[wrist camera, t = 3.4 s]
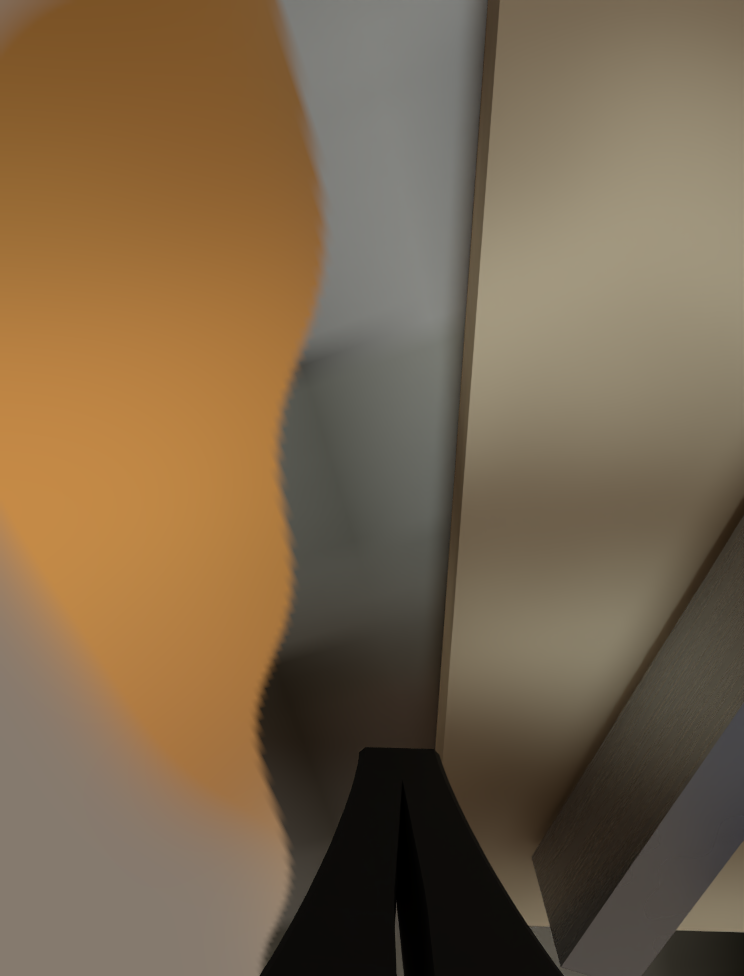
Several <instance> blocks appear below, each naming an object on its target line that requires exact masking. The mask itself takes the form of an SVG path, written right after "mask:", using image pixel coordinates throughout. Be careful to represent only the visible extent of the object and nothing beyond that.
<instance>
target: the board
mask: <svg viewBox="0 0 744 976" xmlns="http://www.w3.org/2000/svg"><path fill="white" fill-rule="evenodd" d="M743 516H744V0H488V8H487V22H486V37H485V51H484V65H483V79H482V93H481V108H480V122H479V136H478V150H477V164H476V179H475V193H474V207H473V221H472V235H471V250H470V264H469V278H468V292H467V306H466V321H465V335H464V349H463V363H462V377H461V392H460V406H459V420H458V434H457V448H456V463H455V477H454V491H453V505H452V519H451V533H450V548H449V562H448V576H447V590H446V604H445V619H444V633H443V647H442V661H441V675H440V690H439V704H438V718H437V732H436V746H435V751H436V752H437V753H438V754H439V755H440V758H441V761H442V764H443V767H444V770H445V773H446V775H447V778H448V780H449V783H450V785H451V787H452V790H453V792H454V794H455V796H456V798H457V801H458V803H459V805H460V807H461V809H462V811H463V813H464V815H465V817H466V819H467V821H468V823H469V825H470V827H471V829H472V831H473V833H474V835H475V837H476V839H477V840H478V842H479V844H480V846H481V848H482V850H483V852H484V854H485V855H486V857H487V859H488V861H489V863H490V864H491V866H492V868H493V870H494V871H495V873H496V875H497V877H498V878H499V880H500V881H501V883H502V885H503V886H504V888H505V890H506V891H507V893H508V895H509V896H510V898H511V900H512V901H513V903H514V904H515V906H516V908H517V909H518V911H519V912H520V914H521V915H522V917H523V918H524V920H525V921H526V923H527V924H528V926H549V927H550V924H549V921H548V917H547V913H546V909H545V906H544V902H543V898H542V895H541V891H540V887H539V883H538V880H537V876H536V872H535V869H534V865H533V861H532V855H533V853H534V852H535V850H536V849H537V847H538V845H539V844H540V842H541V841H542V839H543V837H544V836H545V834H546V832H547V831H548V829H549V828H550V826H551V824H552V823H553V821H554V820H555V818H556V816H557V815H558V813H559V812H560V810H561V808H562V807H563V805H564V804H565V802H566V800H567V799H568V797H569V795H570V794H571V792H572V791H573V789H574V787H575V786H576V784H577V783H578V781H579V779H580V778H581V776H582V775H583V773H584V771H585V770H586V768H587V767H588V765H589V763H590V762H591V760H592V758H593V757H594V755H595V754H596V752H597V750H598V749H599V747H600V746H601V744H602V742H603V741H604V739H605V738H606V736H607V734H608V733H609V731H610V730H611V728H612V726H613V725H614V723H615V721H616V720H617V718H618V717H619V715H620V713H621V712H622V710H623V709H624V707H625V705H626V704H627V702H628V701H629V699H630V697H631V696H632V694H633V693H634V691H635V689H636V688H637V686H638V684H639V683H640V681H641V680H642V678H643V676H644V675H645V673H646V672H647V670H648V668H649V667H650V665H651V664H652V662H653V660H654V659H655V657H656V656H657V654H658V652H659V651H660V649H661V648H662V646H663V644H664V643H665V641H666V639H667V638H668V636H669V635H670V633H671V631H672V630H673V628H674V627H675V625H676V623H677V622H678V620H679V619H680V617H681V615H682V614H683V612H684V611H685V609H686V607H687V606H688V604H689V602H690V601H691V599H692V598H693V596H694V594H695V593H696V591H697V590H698V588H699V586H700V585H701V583H702V582H703V580H704V578H705V577H706V575H707V574H708V572H709V570H710V569H711V567H712V565H713V564H714V562H715V561H716V559H717V557H718V556H719V554H720V553H721V551H722V549H723V548H724V546H725V545H726V543H727V541H728V540H729V538H730V537H731V535H732V533H733V532H734V530H735V528H736V527H737V525H738V524H739V522H740V520H741V519H742V517H743ZM676 930H686V931H720V932H744V841H743V842H742V843H741V845H740V846H739V847H738V849H737V850H736V851H735V852H734V854H733V855H732V856H731V858H730V859H729V860H728V862H727V863H726V864H725V866H724V867H723V868H722V870H721V871H720V872H719V874H718V875H717V876H716V878H715V879H714V880H713V882H712V883H711V884H710V886H709V887H708V888H707V890H706V891H705V892H704V894H703V895H702V896H701V898H700V899H699V900H698V902H697V903H696V904H695V906H694V907H693V908H692V909H691V911H690V912H689V913H688V915H687V916H686V917H685V919H684V920H683V921H682V923H681V924H680V925H679V927H678V928H677V929H676Z"/></svg>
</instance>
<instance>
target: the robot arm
mask: <svg viewBox="0 0 744 976" xmlns="http://www.w3.org/2000/svg"><path fill="white" fill-rule="evenodd" d="M396 901H397V911H398V921H399V931H400V940H401V950H402V960H403V969H404V976H564V975H563V974H562V973H561V971H560V970H559V969H558V967H557V966H556V965H555V963H554V962H553V961H552V959H551V958H550V956H549V955H548V953H547V952H546V951H545V949H544V948H543V946H542V945H541V943H540V942H539V941H538V939H537V938H536V936H535V935H534V933H533V932H532V930H531V929H530V927H529V926H528V924H527V923H526V921H525V920H524V918H523V917H522V915H521V914H520V912H519V911H518V909H517V908H516V906H515V904H514V903H513V901H512V900H511V898H510V896H509V895H508V893H507V891H506V890H505V888H504V886H503V885H502V883H501V881H500V880H499V878H498V877H497V875H496V873H495V871H494V870H493V868H492V866H491V864H490V863H489V861H488V859H487V857H486V855H485V854H484V852H483V850H482V848H481V846H480V844H479V842H478V840H477V839H476V837H475V835H474V833H473V831H472V829H471V827H470V825H469V823H468V821H467V819H466V817H465V815H464V813H463V811H462V809H461V807H460V805H459V803H458V801H457V798H456V796H455V794H454V792H453V790H452V787H451V785H450V783H449V780H448V778H447V775H446V773H445V770H444V767H443V764H442V761H441V758H440V755H439V754H438V753H437V752H436V751H435V750H434V749H408V748H373V747H366V748H364V749H363V750H362V751H361V752H359V760H358V766H357V770H356V774H355V778H354V782H353V785H352V789H351V792H350V795H349V798H348V800H347V803H346V806H345V809H344V812H343V814H342V817H341V819H340V822H339V824H338V827H337V829H336V832H335V834H334V837H333V839H332V842H331V844H330V846H329V849H328V851H327V853H326V855H325V857H324V859H323V861H322V864H321V866H320V868H319V870H318V872H317V874H316V876H315V878H314V880H313V882H312V884H311V886H310V888H309V891H308V893H307V895H306V896H305V898H304V900H303V902H302V904H301V906H300V908H299V910H298V912H297V913H296V915H295V917H294V919H293V921H292V922H291V924H290V926H289V928H288V930H287V931H286V933H285V935H284V936H283V938H282V940H281V942H280V943H279V945H278V947H277V949H276V950H275V952H274V954H273V955H272V957H271V958H270V960H269V962H268V963H267V965H266V966H265V968H264V969H263V971H262V973H261V974H260V976H397V974H396V949H395V914H396Z"/></svg>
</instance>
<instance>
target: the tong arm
mask: <svg viewBox="0 0 744 976" xmlns="http://www.w3.org/2000/svg"><path fill="white" fill-rule="evenodd" d="M743 841H744V516H743V517H742V519H741V520H740V522H739V524H738V525H737V527H736V528H735V530H734V532H733V533H732V535H731V537H730V538H729V540H728V541H727V543H726V545H725V546H724V548H723V549H722V551H721V553H720V554H719V556H718V557H717V559H716V561H715V562H714V564H713V565H712V567H711V569H710V570H709V572H708V574H707V575H706V577H705V578H704V580H703V582H702V583H701V585H700V586H699V588H698V590H697V591H696V593H695V594H694V596H693V598H692V599H691V601H690V602H689V604H688V606H687V607H686V609H685V611H684V612H683V614H682V615H681V617H680V619H679V620H678V622H677V623H676V625H675V627H674V628H673V630H672V631H671V633H670V635H669V636H668V638H667V639H666V641H665V643H664V644H663V646H662V648H661V649H660V651H659V652H658V654H657V656H656V657H655V659H654V660H653V662H652V664H651V665H650V667H649V668H648V670H647V672H646V673H645V675H644V676H643V678H642V680H641V681H640V683H639V684H638V686H637V688H636V689H635V691H634V693H633V694H632V696H631V697H630V699H629V701H628V702H627V704H626V705H625V707H624V709H623V710H622V712H621V713H620V715H619V717H618V718H617V720H616V721H615V723H614V725H613V726H612V728H611V730H610V731H609V733H608V734H607V736H606V738H605V739H604V741H603V742H602V744H601V746H600V747H599V749H598V750H597V752H596V754H595V755H594V757H593V758H592V760H591V762H590V763H589V765H588V767H587V768H586V770H585V771H584V773H583V775H582V776H581V778H580V779H579V781H578V783H577V784H576V786H575V787H574V789H573V791H572V792H571V794H570V795H569V797H568V799H567V800H566V802H565V804H564V805H563V807H562V808H561V810H560V812H559V813H558V815H557V816H556V818H555V820H554V821H553V823H552V824H551V826H550V828H549V829H548V831H547V832H546V834H545V836H544V837H543V839H542V841H541V842H540V844H539V845H538V847H537V849H536V850H535V852H534V853H533V855H532V861H533V865H534V869H535V872H536V876H537V880H538V883H539V887H540V891H541V895H542V898H543V902H544V906H545V909H546V913H547V917H548V921H549V924H550V928H551V932H552V936H553V939H554V943H555V947H556V950H557V954H558V958H559V962H560V965H561V967H562V968H565V969H569V970H572V971H575V972H579V973H582V974H585V975H589V976H642V974H643V973H644V972H645V970H646V969H647V968H648V967H649V965H650V964H651V963H652V961H653V960H654V959H655V957H656V956H657V955H658V953H659V952H660V951H661V949H662V948H663V947H664V945H665V944H666V943H667V941H668V940H669V939H670V937H671V936H672V935H673V933H674V932H675V931H676V929H677V928H678V927H679V925H680V924H681V923H682V921H683V920H684V919H685V917H686V916H687V915H688V913H689V912H690V911H691V909H692V908H693V907H694V906H695V904H696V903H697V902H698V900H699V899H700V898H701V896H702V895H703V894H704V892H705V891H706V890H707V888H708V887H709V886H710V884H711V883H712V882H713V880H714V879H715V878H716V876H717V875H718V874H719V872H720V871H721V870H722V868H723V867H724V866H725V864H726V863H727V862H728V860H729V859H730V858H731V856H732V855H733V854H734V852H735V851H736V850H737V849H738V847H739V846H740V845H741V843H742V842H743Z"/></svg>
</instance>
